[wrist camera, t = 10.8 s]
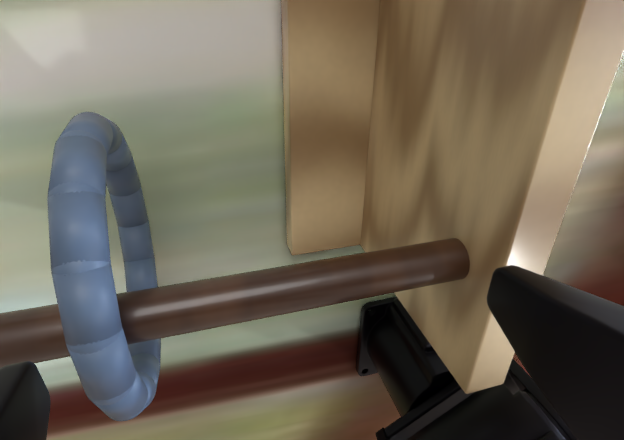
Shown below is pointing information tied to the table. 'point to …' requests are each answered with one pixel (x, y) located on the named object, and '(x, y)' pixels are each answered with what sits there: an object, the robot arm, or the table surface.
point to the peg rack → (406, 169)
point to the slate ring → (101, 263)
